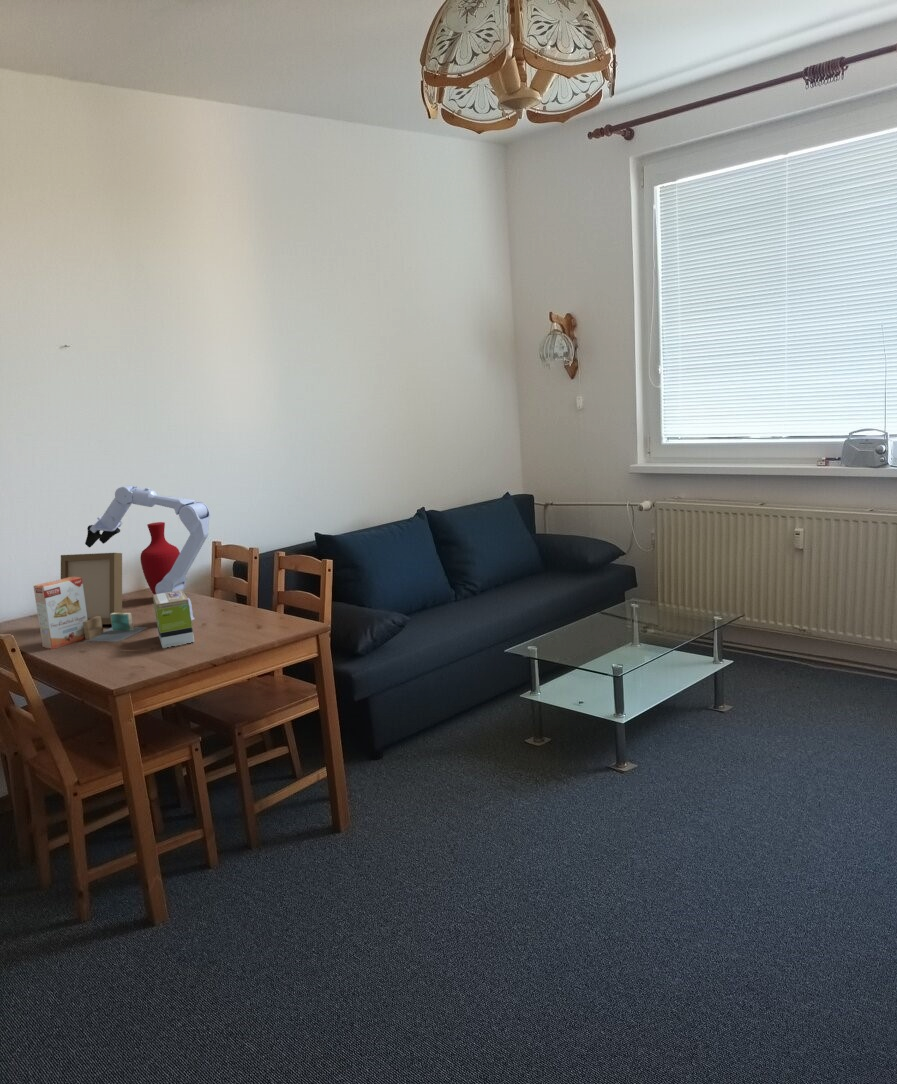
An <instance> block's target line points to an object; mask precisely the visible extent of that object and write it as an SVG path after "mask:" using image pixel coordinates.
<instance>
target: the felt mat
mask: <svg viewBox="0 0 897 1084" xmlns="http://www.w3.org/2000/svg"><path fill="white" fill-rule="evenodd" d="M148 627H149V626H133V630H132V631H113V630H112V627H109V628H107V629H106V630H103V634H101V635H99V636H97V637H95V638H92V639H90V640H86V639H82V642H113V643H114V642H117V643H118V642H122V641H123V640H126V639H128V638H130V637H131V636H133V635H135V634H138V633H139V632H141V631H144V630H146V629H148Z"/></svg>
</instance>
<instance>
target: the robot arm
mask: <svg viewBox="0 0 897 1084" xmlns="http://www.w3.org/2000/svg"><path fill="white" fill-rule="evenodd" d="M132 504H133V505H137V506H143V507H146V508H147V507H148V508H152V507H154V506H155V505H157V506H160V507H165V508H170V509H174V513H175V515H176V516H177V515H178V518H179V520H180V521H181V522H182V524H183V525H184V527H185V528H186V529H187V531H188V532H189V536H188V537H187V540H186V542H185V544H184V545H183V546H182V549H181V550H180V551H179V552H180V554H179V556H178V558H177V560H176V561H175V563H174V565H173V567H172V569H171V571H170V572H169V573H168V574H167V575H166V576H165V577H164V578H163V580H162V581H161V582H159V583H158V584H157V585H156V588H155V591H156V594H161V593H167V592H173V591H179V590H183V591H184V590H185V589H186V582H187V580H188V578H187V574H188V572H189V570H190V569H191V567H192V565H193V563H194V562H195V560H196V558H197V557H198V554H199V552H200V550H201V549H202V547H203V545H204V543H205V542H206V540H207V539H208V536H209V523H210V518H211V515H212V514H211V512H210V509H209V507H208V505H207V504H206V503H205V502H202V501H196V500H195V499H191V498H184V497H175V496H167V495H163V494H161V495H160V494H157V492H156V491H155V490H152V488H151V487H145V488H141V487H138V486H137V485H124V486H120V487H118V488H116V490H115V491H114V498H113V499H112V501H111V502H110V504H109V506H108V507H107V508H106V510H105V511H104V513H103V514H102V515H100V516H97V518H96V519H97V521H96V522H95V523H94V524H90V525H88V526H87V529H86V530H87V535H86V539H85V543H84V545H85V546H87V547H88V548H91V547H92V546H94V544H95V543H96V542H97V541H98V540H99V541H100V542H101V544H103V545H104V544H105V543H107V542H108V541H109V540H110V539H112V538H113V537H114V536H115V535H117V534H119V533H120V532H121V529H120V527H121V526H122V525H123V521H122V519H123V518H124V516H125V515H126V513H127V511H128V510H129V508H130V507H131V506H132ZM101 531H102V532H101ZM187 598H188V601H189V607H190V615H191V621H193V620H195V617H194V612H193V606H192V601H191V599H190V598H189V597H187Z"/></svg>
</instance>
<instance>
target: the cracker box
mask: <svg viewBox="0 0 897 1084" xmlns="http://www.w3.org/2000/svg"><path fill="white" fill-rule="evenodd" d="M33 591H34V592H33V593H34V598H35V604H36V605H35V607H36V613H37V618H38V626H39V632H40V639H41V645H42V648H43V647H45V649H49V648H50V649H49V650H54V649H57V648H60V647H63V646H67V645H70V644H73V643H75V642H78V641H83V640H86V639H85V632H84V626H83V622H84V621H87V620H88V619H87V612H86V605H85V597H84V590H83V583H82V578H80V577H68V578H64V579H61V578H60V579H56V580H52V581H47V582H44V583H39V584H35V585H33Z"/></svg>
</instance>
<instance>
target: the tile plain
mask: <svg viewBox="0 0 897 1084" xmlns="http://www.w3.org/2000/svg"><path fill="white" fill-rule="evenodd" d="M83 626H84V632H85V639H84V640H90V639H92V638H95V637H97V636H99V635H101V634H103V631H104V630H103V624H102V621H101V616H96V617H94V618H91V619H89V620H87V621H84V622H83Z"/></svg>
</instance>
